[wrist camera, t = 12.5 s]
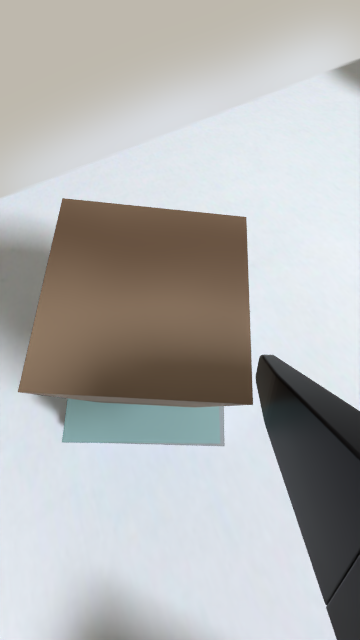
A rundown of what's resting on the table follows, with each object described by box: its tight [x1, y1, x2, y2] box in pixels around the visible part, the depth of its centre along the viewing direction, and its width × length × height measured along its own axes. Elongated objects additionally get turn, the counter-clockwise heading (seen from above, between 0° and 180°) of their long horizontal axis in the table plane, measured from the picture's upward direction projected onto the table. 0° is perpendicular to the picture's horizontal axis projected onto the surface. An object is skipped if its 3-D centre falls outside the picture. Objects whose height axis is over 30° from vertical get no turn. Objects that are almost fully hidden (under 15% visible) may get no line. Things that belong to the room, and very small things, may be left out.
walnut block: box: [18, 199, 253, 407], centre depth 12 cm, size 6×6×10 cm
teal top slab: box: [62, 399, 220, 444], centre depth 18 cm, size 9×9×2 cm
